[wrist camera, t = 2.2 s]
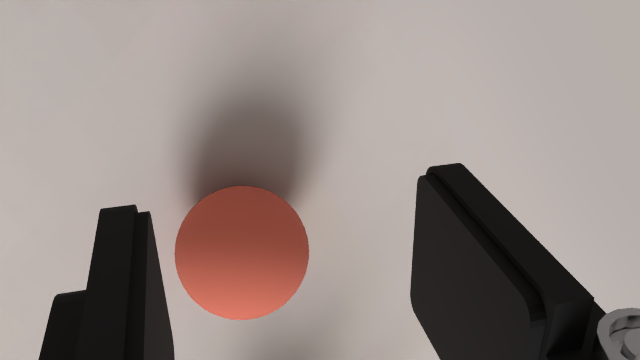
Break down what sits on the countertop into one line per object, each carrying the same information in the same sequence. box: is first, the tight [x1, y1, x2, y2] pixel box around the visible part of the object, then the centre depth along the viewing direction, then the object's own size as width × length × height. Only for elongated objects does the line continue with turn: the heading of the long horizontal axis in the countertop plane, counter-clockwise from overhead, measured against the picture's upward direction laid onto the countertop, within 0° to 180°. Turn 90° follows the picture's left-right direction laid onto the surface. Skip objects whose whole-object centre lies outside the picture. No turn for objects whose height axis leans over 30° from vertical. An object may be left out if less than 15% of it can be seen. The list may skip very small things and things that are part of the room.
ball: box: [175, 186, 309, 320], centre depth 27 cm, size 6×6×6 cm
